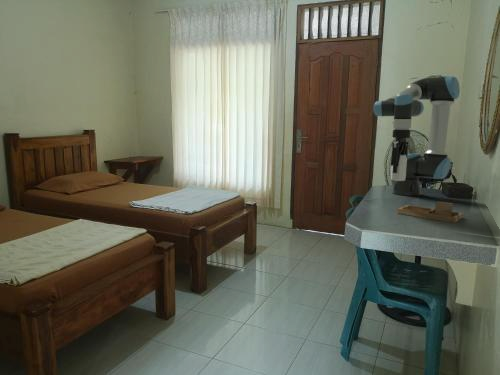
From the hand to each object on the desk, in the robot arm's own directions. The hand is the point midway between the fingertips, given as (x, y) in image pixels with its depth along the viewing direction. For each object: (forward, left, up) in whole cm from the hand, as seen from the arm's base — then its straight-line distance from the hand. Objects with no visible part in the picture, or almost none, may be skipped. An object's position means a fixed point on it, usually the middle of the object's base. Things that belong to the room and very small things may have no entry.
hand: (397, 179), depth 180 cm
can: (0, 0, -1) cm, 1 cm away
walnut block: (+6, +22, -13) cm, 27 cm away
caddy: (+6, +17, -14) cm, 23 cm away
